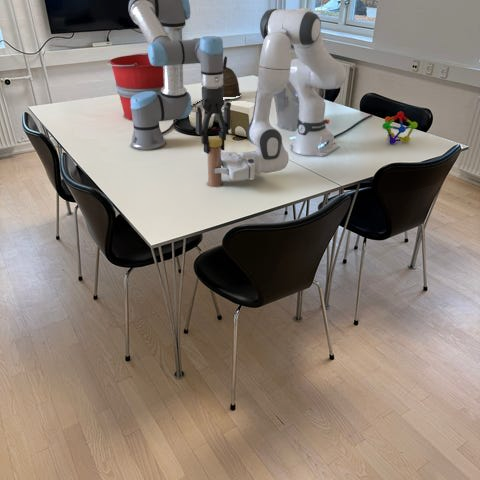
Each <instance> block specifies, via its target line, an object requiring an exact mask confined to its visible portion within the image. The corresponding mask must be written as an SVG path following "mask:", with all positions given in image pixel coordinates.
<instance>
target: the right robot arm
mask: <svg viewBox="0 0 480 480" xmlns="http://www.w3.org/2000/svg"><path fill="white" fill-rule="evenodd" d="M259 31H260V35H261V37H262V39H263V41H262V42H263V43H262V45H261V51H260V55H259V64H258V77H257V86H256V93H255V99H254V105H253V113H252V117H251V120H250V122H249V124H248V127H247V129H246V137H247V139H248V142H250V143H251V144H252V145H253V146H255V148H256V149H255V150H252V151H243V152H241V153H240V154H238V152H236V151H223V152H222V151H221V168H219V167H217V168H214V172H215V173H221V174H222V175H223V174H224V175H227V176H228V178H229V179H230V180H232V181H246V180H249V181H254V180H255V178H256V175H258V174H261V173H263V174H264V173H265V174H269V173H275V172H279V171H282V170H284V169H286V167H287V166H288V165H289V164H288V163H289V152H288V151H287V150H286V148H285V146H284V143H283V137H282V134H281V132H280V131H279V130H277V128H275V127H273V126H272V125H271V122H270V113H271V108H272V102H273V100H274V95H275V94H277V93H279V92H281V91H283V90H284V89H285V88H286V86H287V84H288V81H289V82H290V83H291V84H292V85H293V87H294V88H295V90H296V92H297V95H298V99H299V118H298V120H297V129H296V130H295V134H294V136H291V137H289V140H293V139H294V140H293V142H292V144H291V145H292V152H294V153H296V154H299V155H302V156H313V157H314V156H316V157H317V156H319V157H325V156H327V155H328V154H330V153H332V152H334V151H335V150H336V149H338V148H339V144H338V143H337V142H335V139H336V138H338V137H339V136H341V135H343V134H345V133H347V132H348V131H350V130H352V129H353V128H355V127H356V126H357V125H359V124H360V123H362V122H363V121H365V120H367V119H369V118H371V117H373V114H369V115H367V116H365V117H363V118H362V119H360V120H358V121H357V122H356V123H353V125H351V126H350V127H348V128H346V129H345V130H343V131H342V132H339V133H337V134H335V135H334V133H333V132H331V131H330V130H329V129H328V128H327V125H330V122H331V120H330V119H327V118H325V113H326V112H325V111H326V101H325V99H324V100H323V96H322V97H320V96H319V95H318V94H317V93H316V91H315V88H321V89H325V90H335V89H336V90H337V89H340V88H341V87H342V86H343V84H344V83H345V81H346V78H347V70H346V68H345V66H344V64H342V63H341V62H339V61H337V60H336V59H335V58H334V57H333V56H332V55H331V54H330V53H329V52H328V50H327V48H326V47H325V43H324V39H323V37H322V36H323V35H322V32H321V31H322V21H321V19H320V17H319V15H318V14H317V13H316V12H315V13H314V11H313V10H312V9H311V8H309V7H300V8H298V9H293V8H291V9H285V8H284V9H283V8H282V9H277V8H271V9H267V10H266V11H264V13H263V15H262V17H261V18H260V22H259ZM292 45H293V49H294V52H295V56H296V58H292Z"/></svg>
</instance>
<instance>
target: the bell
mask: <svg viewBox="0 0 480 480" xmlns="http://www.w3.org/2000/svg"><path fill="white" fill-rule="evenodd" d="M227 63H228V57H227V56H223V85H222V87H223V90H224V97H236V96H240V95H241V96H242V93H241V92H240V83H239V80H238V79H239V78H238V77H237V75H236V73H235V72H234V70H232V69H231V68H230V67H227Z"/></svg>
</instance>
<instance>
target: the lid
mask: <svg viewBox="0 0 480 480" xmlns="http://www.w3.org/2000/svg"><path fill="white" fill-rule="evenodd" d="M221 145H222V138H220V137H219V136H209V147H219V146H221Z"/></svg>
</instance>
